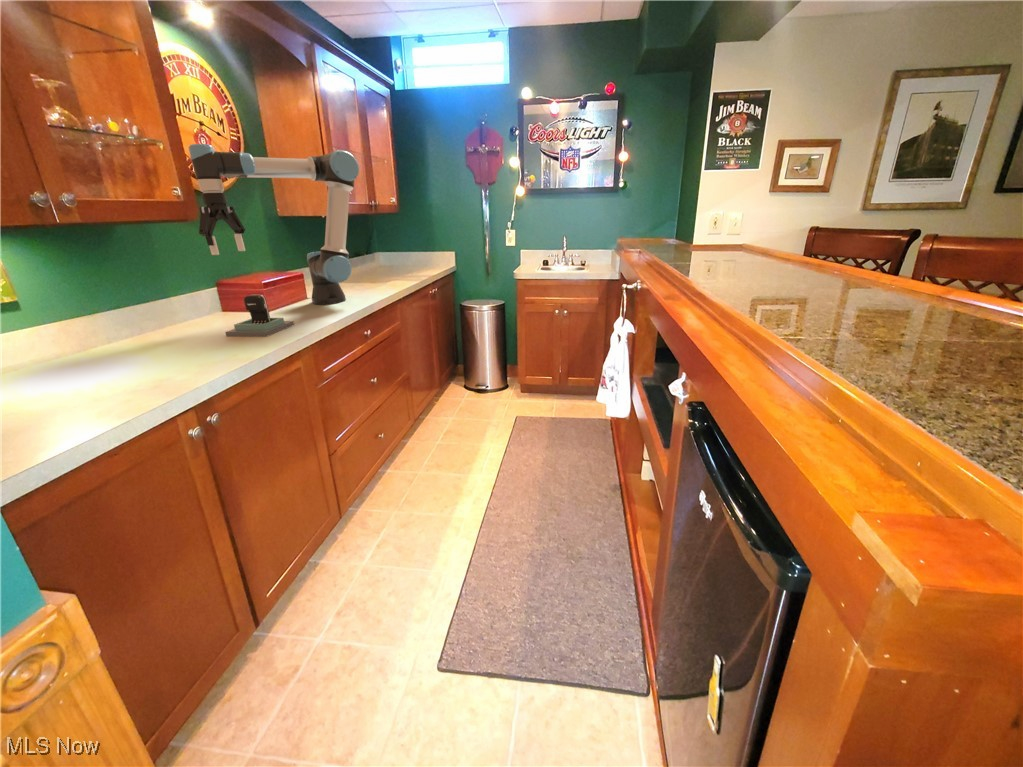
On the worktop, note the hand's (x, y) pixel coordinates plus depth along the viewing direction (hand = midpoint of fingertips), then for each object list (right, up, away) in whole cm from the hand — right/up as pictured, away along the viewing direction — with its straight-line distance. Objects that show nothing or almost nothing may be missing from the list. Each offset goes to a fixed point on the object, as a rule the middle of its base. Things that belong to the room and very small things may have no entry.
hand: (229, 252), depth 167 cm
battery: (+15, -29, -6) cm, 33 cm away
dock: (+15, -30, -5) cm, 34 cm away
